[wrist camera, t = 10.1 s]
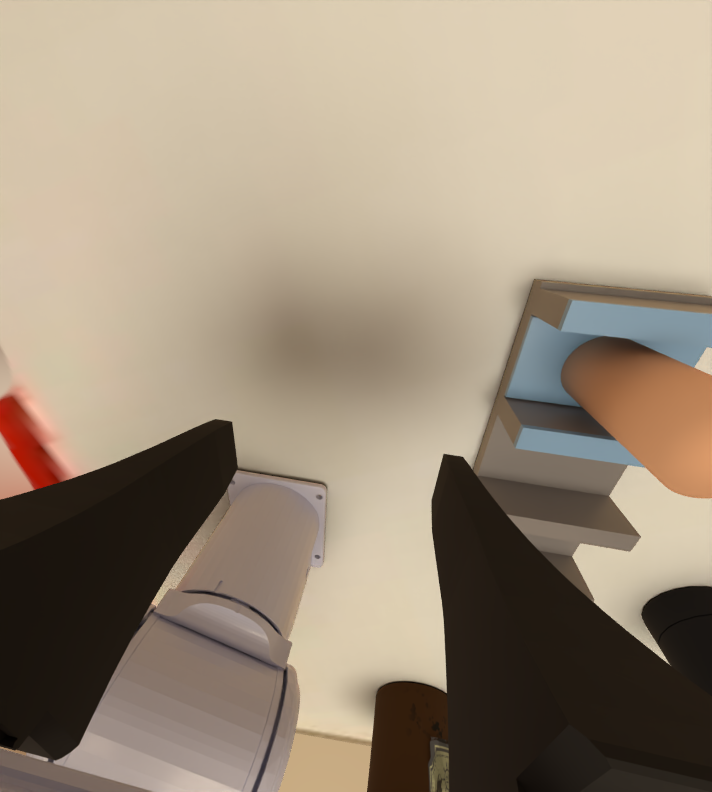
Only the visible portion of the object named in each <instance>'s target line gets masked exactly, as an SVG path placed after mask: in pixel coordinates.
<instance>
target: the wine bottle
mask: <svg viewBox="0 0 712 792" xmlns="http://www.w3.org/2000/svg"><path fill="white" fill-rule="evenodd" d="M642 618H643V620H644V623H645V625H646V626H647V628H648V630H649V631H650V633H651V634H652V636H653V638H654V639H655V641H656V643H657V644H658V646H659V647H660V649H661V651H662V652H663V654H664V655H665V657H666V659H667V660H668V662H669V664H670V665H671V666H672V667H673V668H674V669H675V670H677V671H678V672H680V673H681V674H682V675H684V676H685V677H686V678H688V679H689V680H690V681H692V682H693V683H694V684H696V685H697V686H699V687H700V688H701V689H703V690H704V691H705V692H707V693H708V694H709V695H711V696H712V588H710V587H688V588H682V589H675V590H672V591H669V592H666V593H663V594H661V595H659V596H657V597H656V598H654V599H652V600H651V601H650V602H649V603H648V604H647V605H646V606H645V607H644V610H643V614H642Z"/></svg>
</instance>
